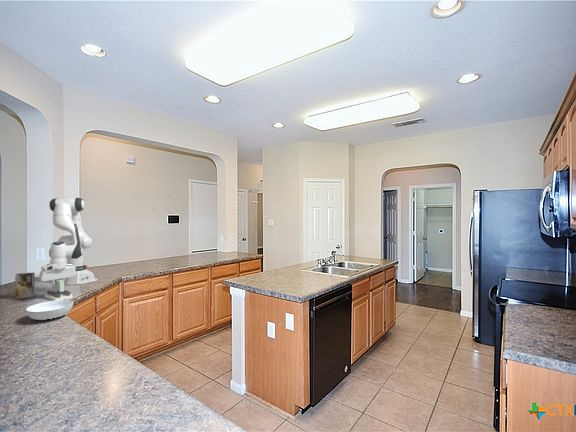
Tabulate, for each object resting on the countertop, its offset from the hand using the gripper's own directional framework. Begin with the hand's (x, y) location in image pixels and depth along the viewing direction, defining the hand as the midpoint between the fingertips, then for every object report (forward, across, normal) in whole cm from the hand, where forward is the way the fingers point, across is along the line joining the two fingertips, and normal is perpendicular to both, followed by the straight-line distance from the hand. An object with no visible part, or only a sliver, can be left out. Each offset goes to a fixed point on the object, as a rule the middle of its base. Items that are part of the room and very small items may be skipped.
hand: (58, 285), depth 202 cm
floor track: (+8, 0, 0) cm, 8 cm away
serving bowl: (+9, +18, +38) cm, 43 cm away
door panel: (+3, 0, 0) cm, 3 cm away
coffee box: (+8, +12, -20) cm, 24 cm away
